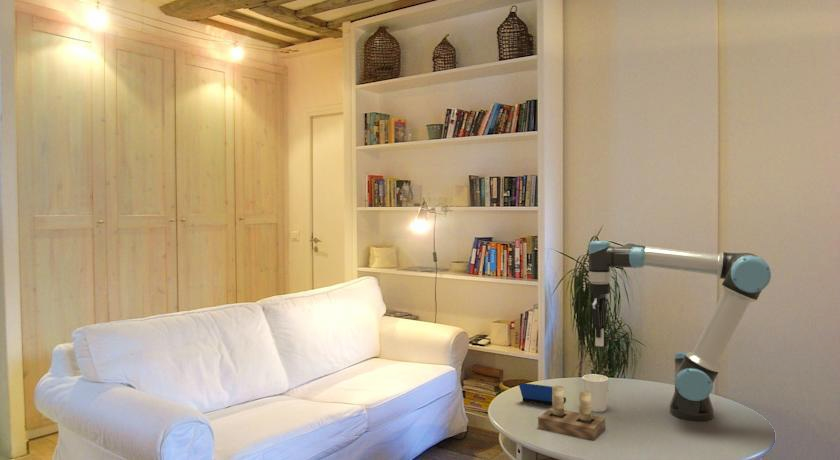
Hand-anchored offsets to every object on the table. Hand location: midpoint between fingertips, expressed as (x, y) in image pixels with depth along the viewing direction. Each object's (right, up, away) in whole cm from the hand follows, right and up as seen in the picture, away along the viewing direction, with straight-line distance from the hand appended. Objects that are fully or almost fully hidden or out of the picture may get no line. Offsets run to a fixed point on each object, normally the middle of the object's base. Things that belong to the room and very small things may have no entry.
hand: (599, 345), depth 224 cm
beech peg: (-17, -27, -8) cm, 33 cm away
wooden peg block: (-13, -27, -11) cm, 32 cm away
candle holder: (+1, -26, +9) cm, 28 cm away
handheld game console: (-17, -27, +17) cm, 36 cm away
